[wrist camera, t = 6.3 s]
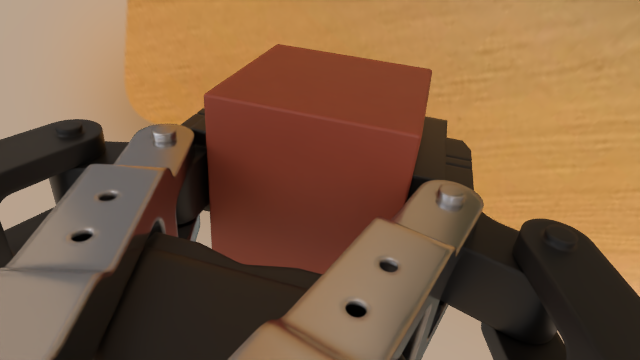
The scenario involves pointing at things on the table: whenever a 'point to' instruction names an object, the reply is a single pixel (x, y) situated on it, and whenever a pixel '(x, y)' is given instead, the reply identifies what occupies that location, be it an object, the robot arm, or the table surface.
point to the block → (309, 153)
